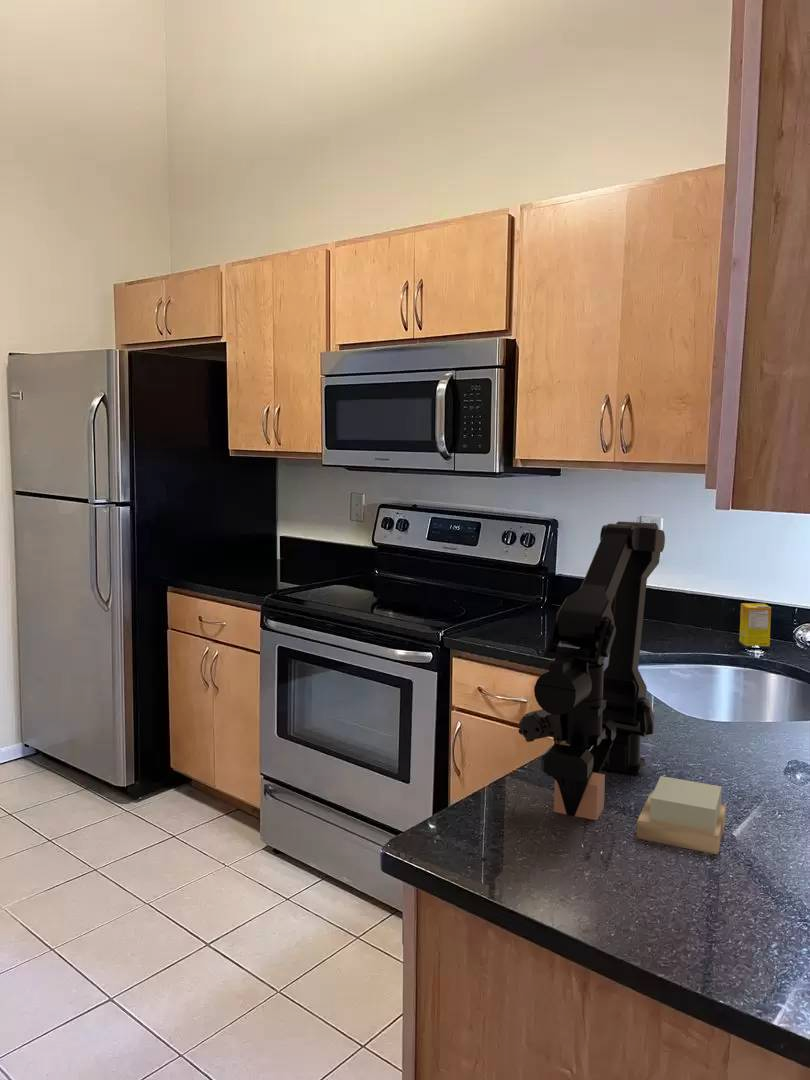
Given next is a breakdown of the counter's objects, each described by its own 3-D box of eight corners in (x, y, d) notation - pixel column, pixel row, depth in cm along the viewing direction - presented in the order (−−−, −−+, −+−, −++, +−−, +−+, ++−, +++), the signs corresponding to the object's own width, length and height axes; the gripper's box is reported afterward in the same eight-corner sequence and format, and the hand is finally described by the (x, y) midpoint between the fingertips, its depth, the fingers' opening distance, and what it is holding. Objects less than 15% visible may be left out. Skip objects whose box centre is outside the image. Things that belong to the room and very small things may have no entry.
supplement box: (762, 644, 214) (764, 602, 213) (769, 649, 208) (771, 607, 207) (738, 643, 215) (740, 602, 214) (745, 649, 209) (747, 606, 208)
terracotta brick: (562, 800, 120) (563, 767, 119) (603, 808, 117) (604, 774, 116) (553, 812, 116) (554, 778, 115) (596, 820, 113) (597, 785, 112)
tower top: (659, 796, 115) (660, 775, 114) (720, 807, 111) (721, 786, 111) (649, 819, 108) (650, 797, 107) (714, 832, 104) (715, 809, 104)
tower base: (650, 812, 117) (650, 791, 116) (725, 826, 112) (726, 805, 112) (636, 842, 108) (637, 820, 107) (717, 859, 103) (718, 836, 103)
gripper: (545, 672, 126) (543, 769, 128) (504, 706, 110) (503, 817, 111) (618, 681, 121) (615, 782, 123) (587, 718, 105) (584, 834, 106)
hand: (579, 802), depth 116 cm, fingers open, 9 cm apart
